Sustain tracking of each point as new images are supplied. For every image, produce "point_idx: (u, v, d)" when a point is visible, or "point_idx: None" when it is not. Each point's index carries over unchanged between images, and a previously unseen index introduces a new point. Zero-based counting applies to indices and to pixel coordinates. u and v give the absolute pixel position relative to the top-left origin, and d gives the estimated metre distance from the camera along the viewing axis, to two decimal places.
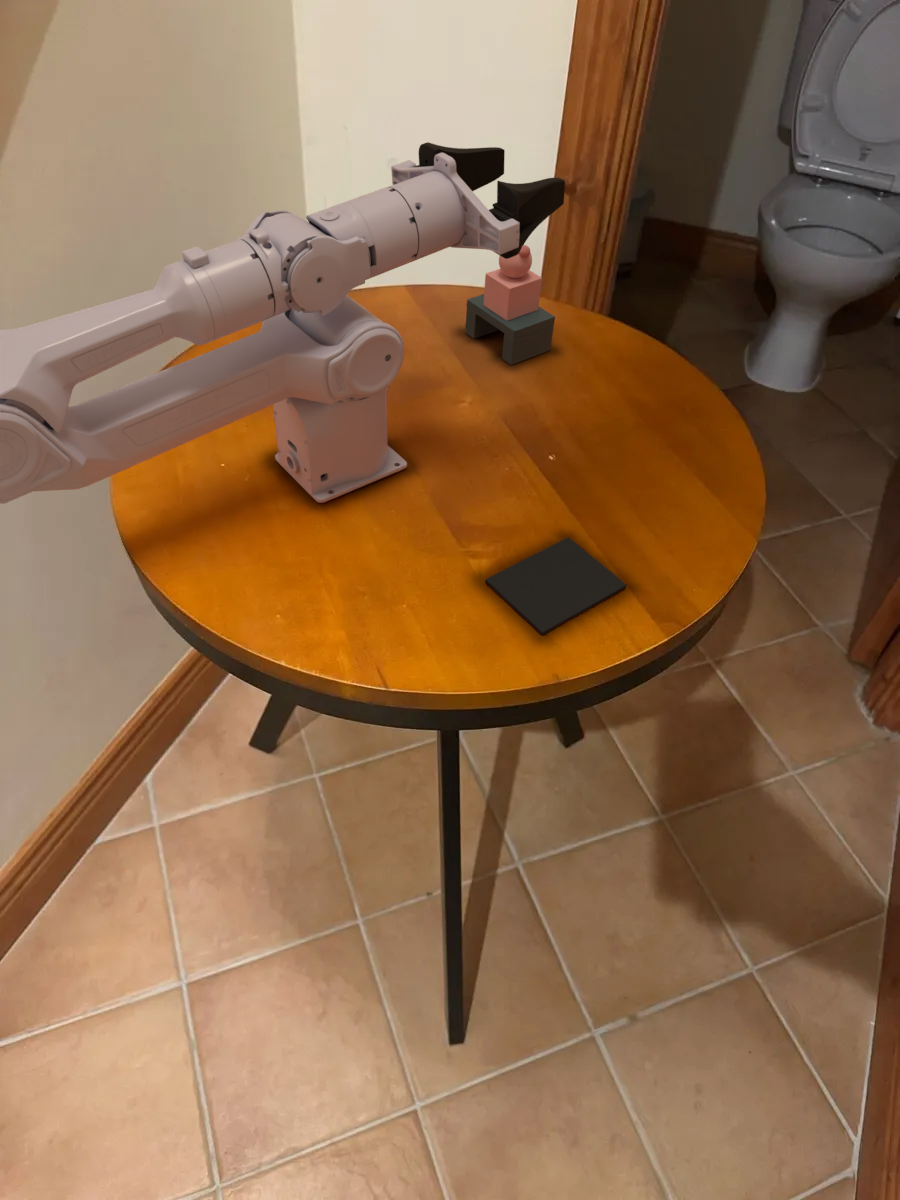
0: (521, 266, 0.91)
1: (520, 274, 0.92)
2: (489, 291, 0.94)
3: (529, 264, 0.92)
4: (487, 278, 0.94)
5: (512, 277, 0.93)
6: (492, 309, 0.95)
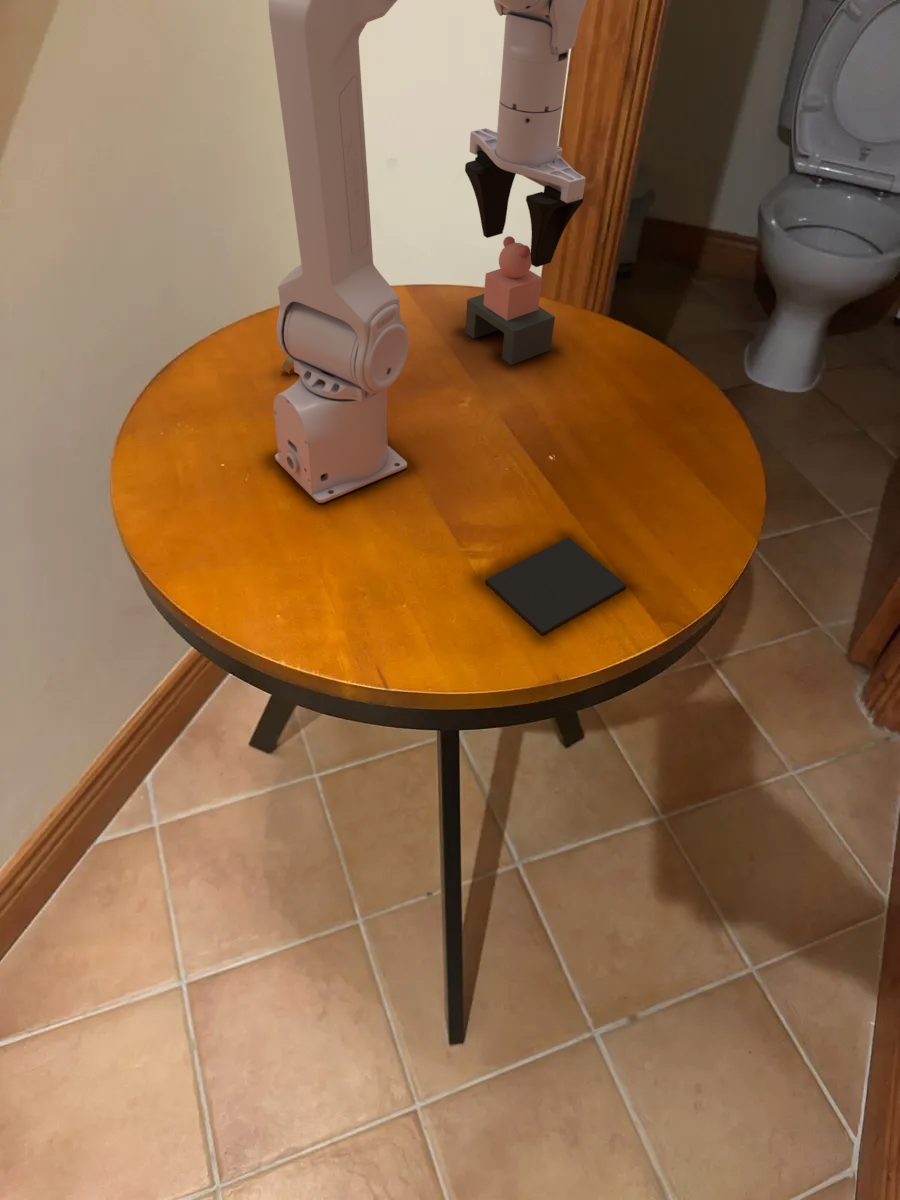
0: (521, 266, 0.91)
1: (520, 274, 0.92)
2: (489, 291, 0.94)
3: (529, 264, 0.92)
4: (487, 278, 0.94)
5: (512, 277, 0.93)
6: (492, 309, 0.95)
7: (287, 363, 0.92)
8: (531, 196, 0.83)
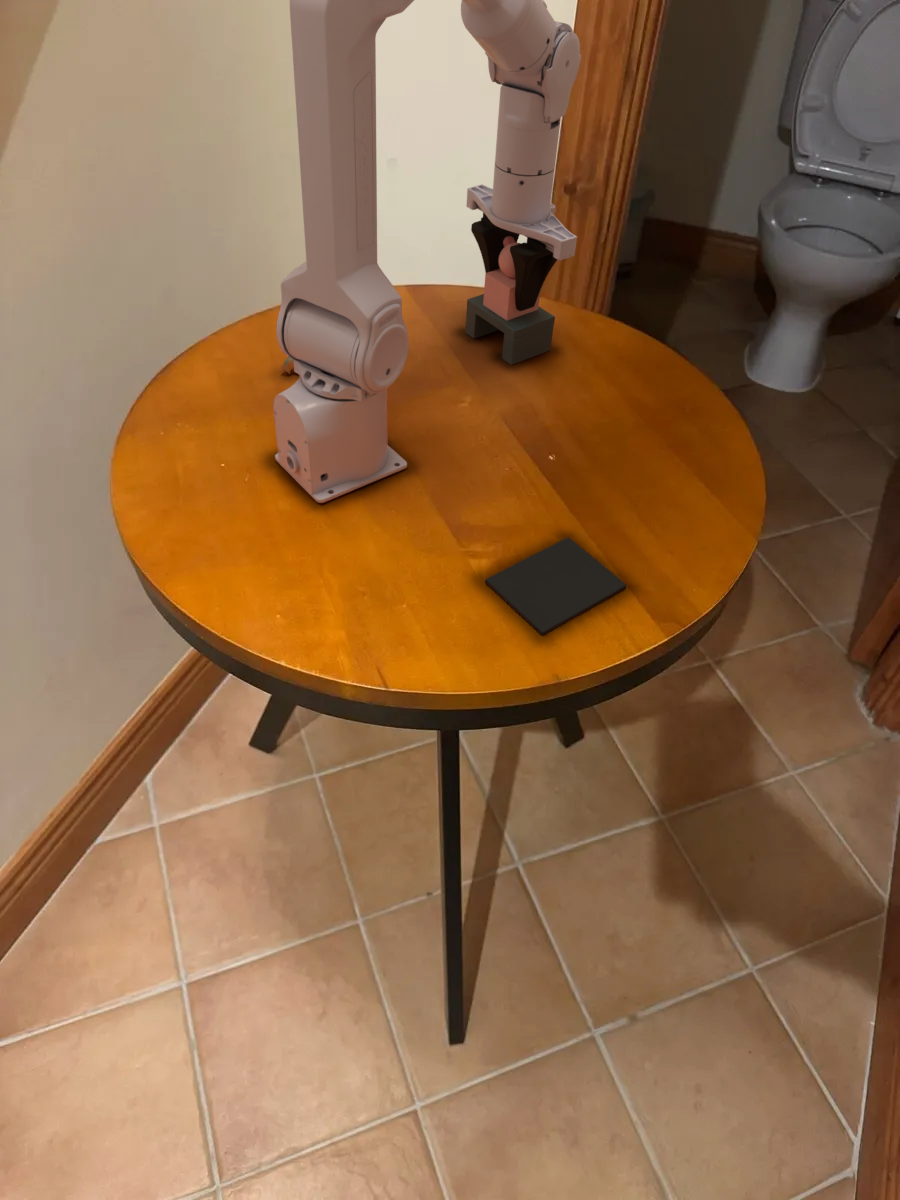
0: None
1: None
2: (489, 291, 0.94)
3: None
4: (487, 278, 0.94)
5: (512, 277, 0.93)
6: (492, 309, 0.95)
7: (287, 363, 0.92)
8: (514, 247, 0.88)
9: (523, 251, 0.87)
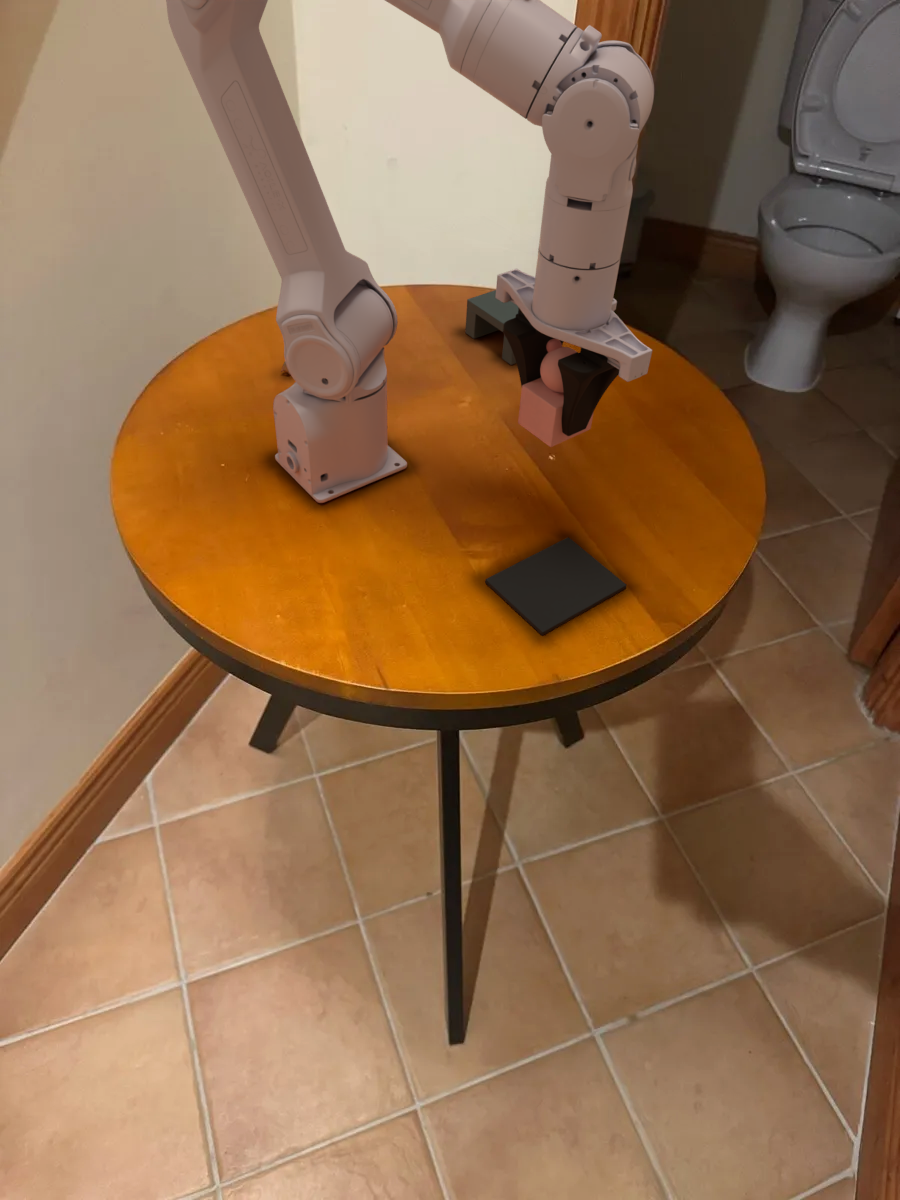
0: None
1: None
2: (527, 408, 0.71)
3: None
4: (524, 391, 0.71)
5: (558, 392, 0.70)
6: (530, 430, 0.72)
7: None
8: (565, 360, 0.65)
9: (577, 367, 0.64)
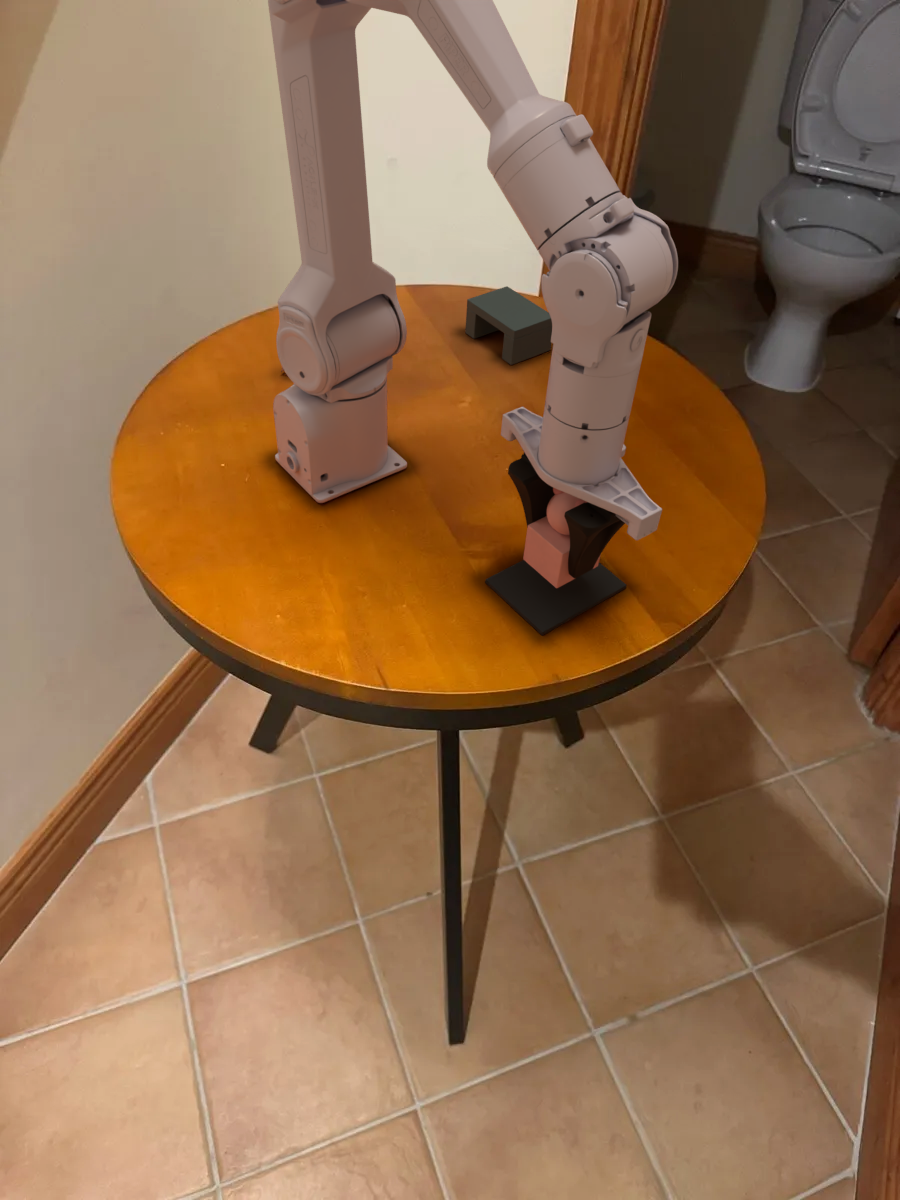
0: None
1: None
2: (532, 547, 0.69)
3: None
4: (530, 531, 0.69)
5: (565, 534, 0.68)
6: (536, 568, 0.70)
7: None
8: (571, 512, 0.63)
9: (584, 521, 0.62)
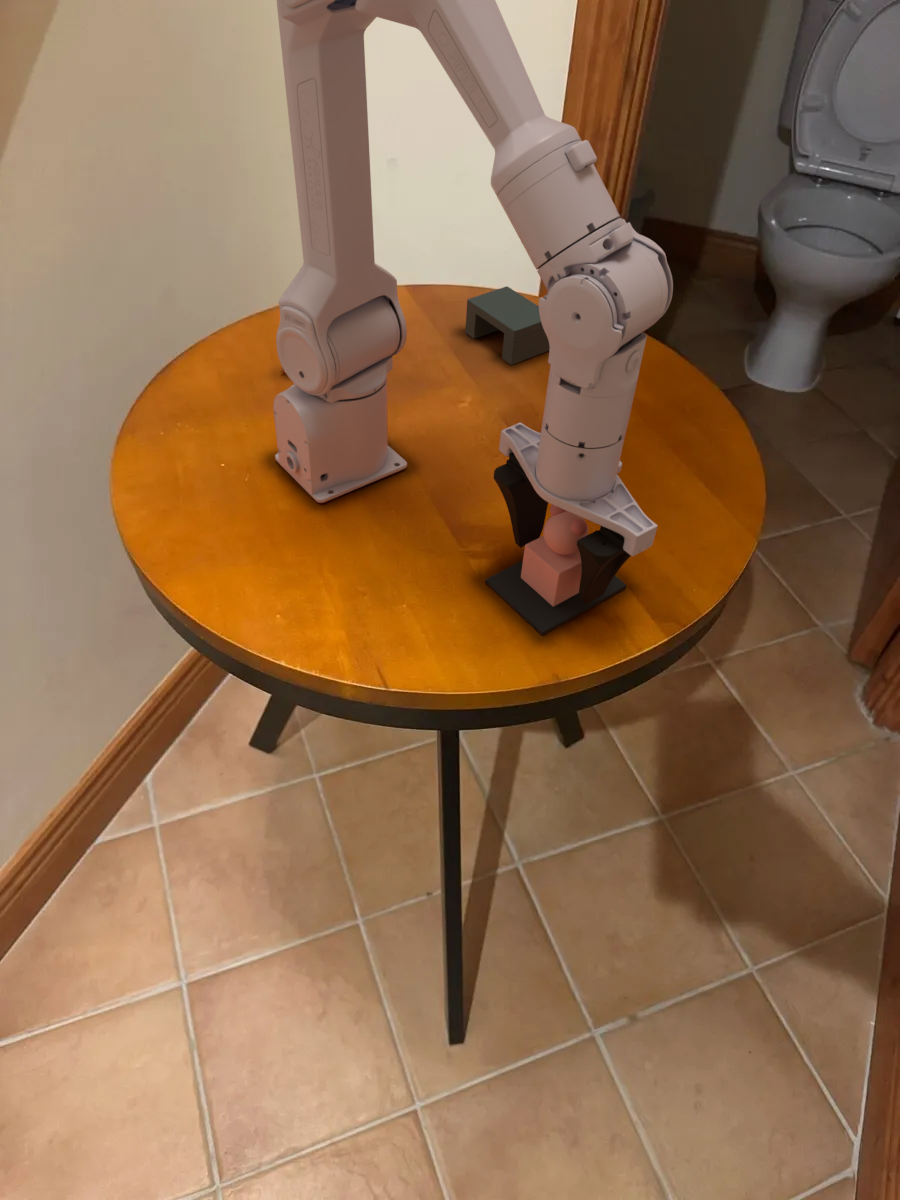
0: (575, 545, 0.68)
1: (573, 552, 0.68)
2: (529, 566, 0.71)
3: None
4: (527, 551, 0.70)
5: (561, 554, 0.69)
6: (533, 587, 0.72)
7: None
8: (584, 541, 0.63)
9: (596, 549, 0.62)
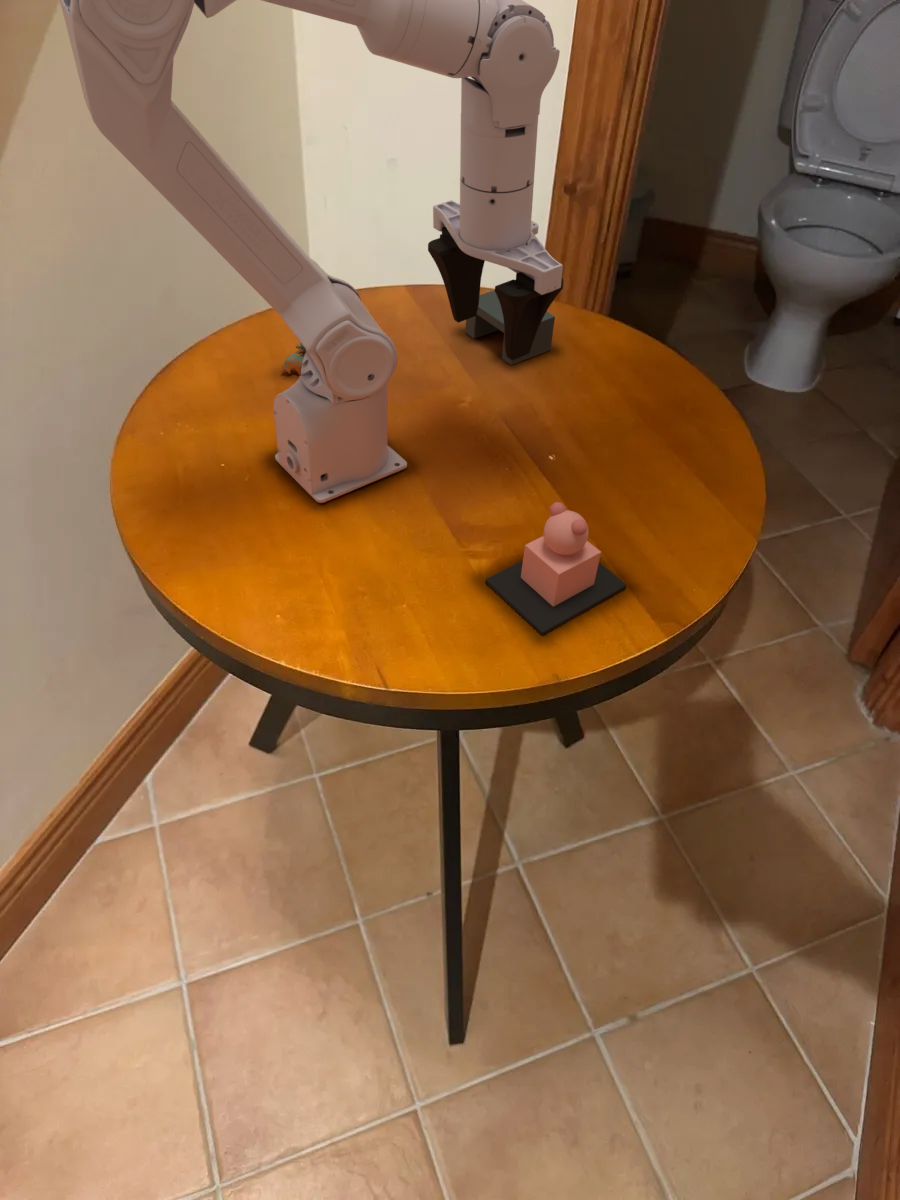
0: (575, 545, 0.68)
1: (573, 552, 0.68)
2: (529, 566, 0.71)
3: (585, 540, 0.68)
4: (527, 551, 0.70)
5: (561, 554, 0.69)
6: (533, 587, 0.72)
7: (287, 363, 0.92)
8: (500, 286, 0.71)
9: (511, 291, 0.71)
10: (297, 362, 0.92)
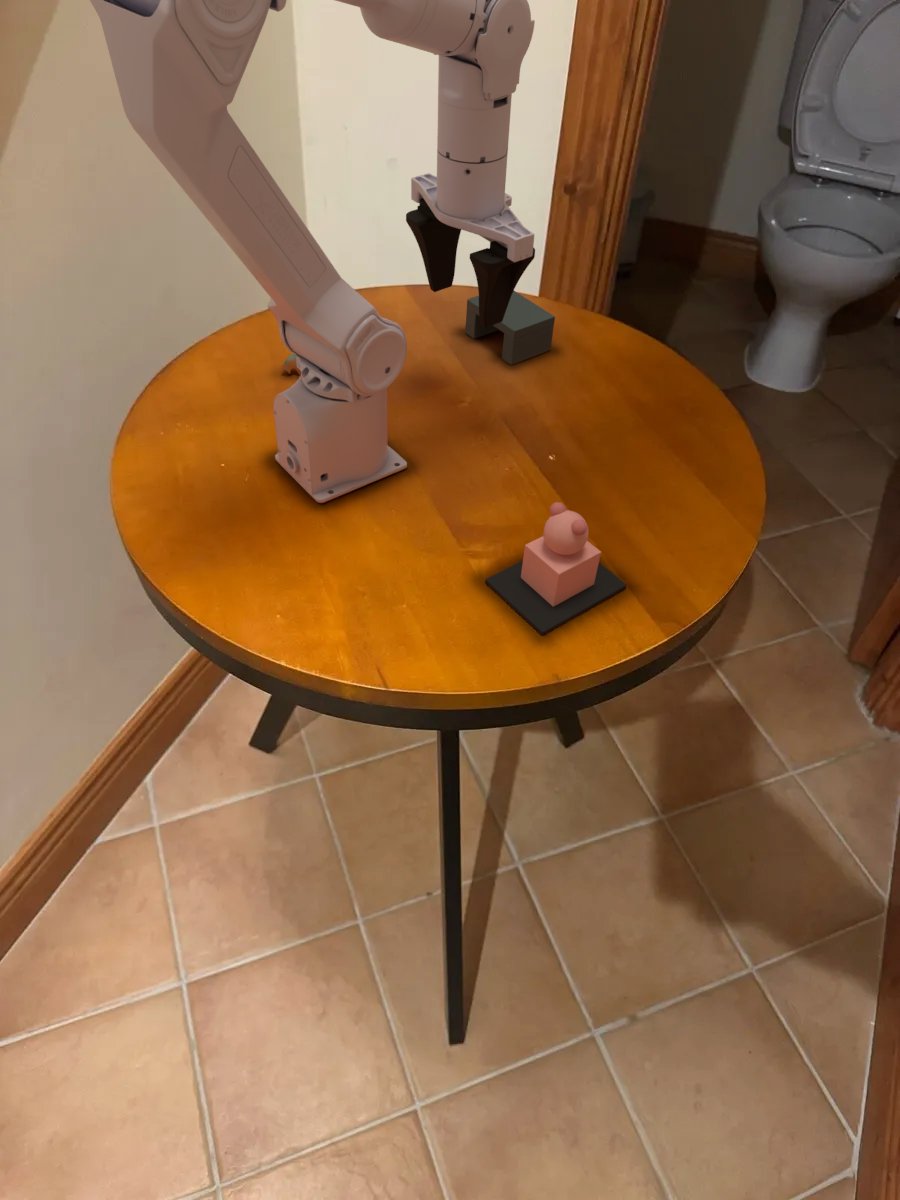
0: (575, 545, 0.68)
1: (573, 552, 0.68)
2: (529, 566, 0.71)
3: (585, 540, 0.68)
4: (527, 551, 0.70)
5: (561, 554, 0.69)
6: (533, 587, 0.72)
7: (287, 363, 0.92)
8: (475, 254, 0.75)
9: (485, 259, 0.74)
10: None
